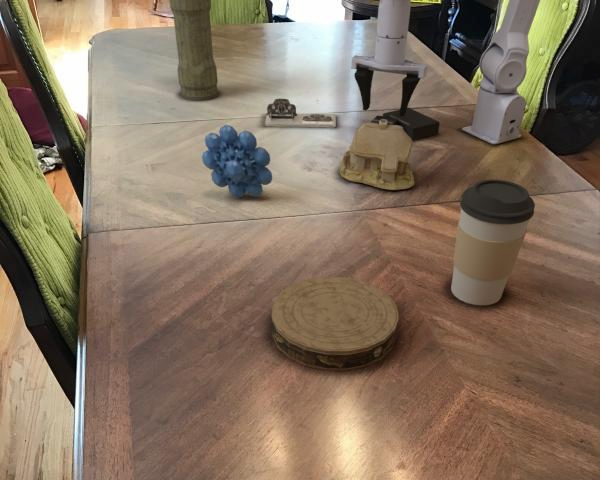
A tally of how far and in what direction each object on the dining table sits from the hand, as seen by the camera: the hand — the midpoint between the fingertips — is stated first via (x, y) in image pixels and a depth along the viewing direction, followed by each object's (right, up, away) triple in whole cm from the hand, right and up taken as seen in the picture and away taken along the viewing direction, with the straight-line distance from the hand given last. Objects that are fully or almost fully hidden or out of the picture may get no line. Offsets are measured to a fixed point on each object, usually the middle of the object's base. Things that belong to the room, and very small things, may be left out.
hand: (384, 111), depth 123 cm
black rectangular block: (0, -4, +3) cm, 5 cm away
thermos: (-40, +14, +22) cm, 48 cm away
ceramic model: (-3, -17, -11) cm, 20 cm away
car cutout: (-17, +2, +9) cm, 19 cm away
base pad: (+6, -1, +6) cm, 9 cm away
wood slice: (-13, -49, -44) cm, 67 cm away
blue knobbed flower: (-27, -24, -18) cm, 40 cm away
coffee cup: (+8, -43, -37) cm, 57 cm away
